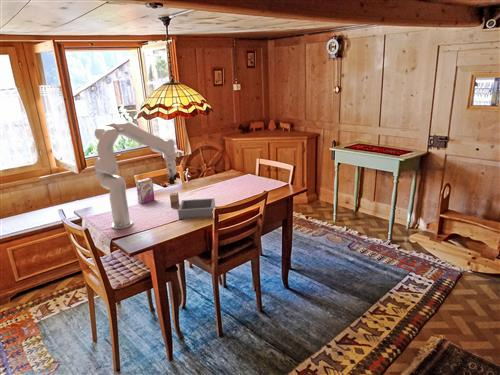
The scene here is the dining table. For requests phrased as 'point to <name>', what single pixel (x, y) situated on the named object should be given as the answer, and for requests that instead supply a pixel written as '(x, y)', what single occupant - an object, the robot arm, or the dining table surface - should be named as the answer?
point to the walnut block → (174, 200)
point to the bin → (196, 208)
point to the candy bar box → (145, 190)
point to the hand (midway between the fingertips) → (173, 181)
